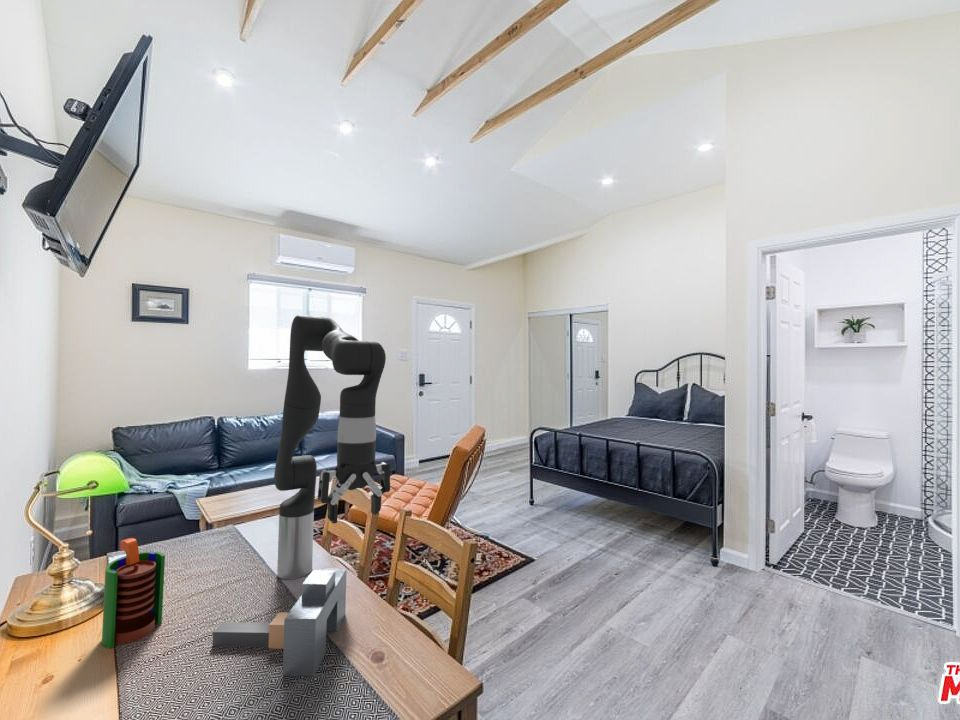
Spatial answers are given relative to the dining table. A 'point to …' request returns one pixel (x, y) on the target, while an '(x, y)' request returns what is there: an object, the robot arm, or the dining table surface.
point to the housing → (313, 621)
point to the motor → (132, 595)
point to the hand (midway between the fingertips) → (354, 517)
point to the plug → (251, 633)
